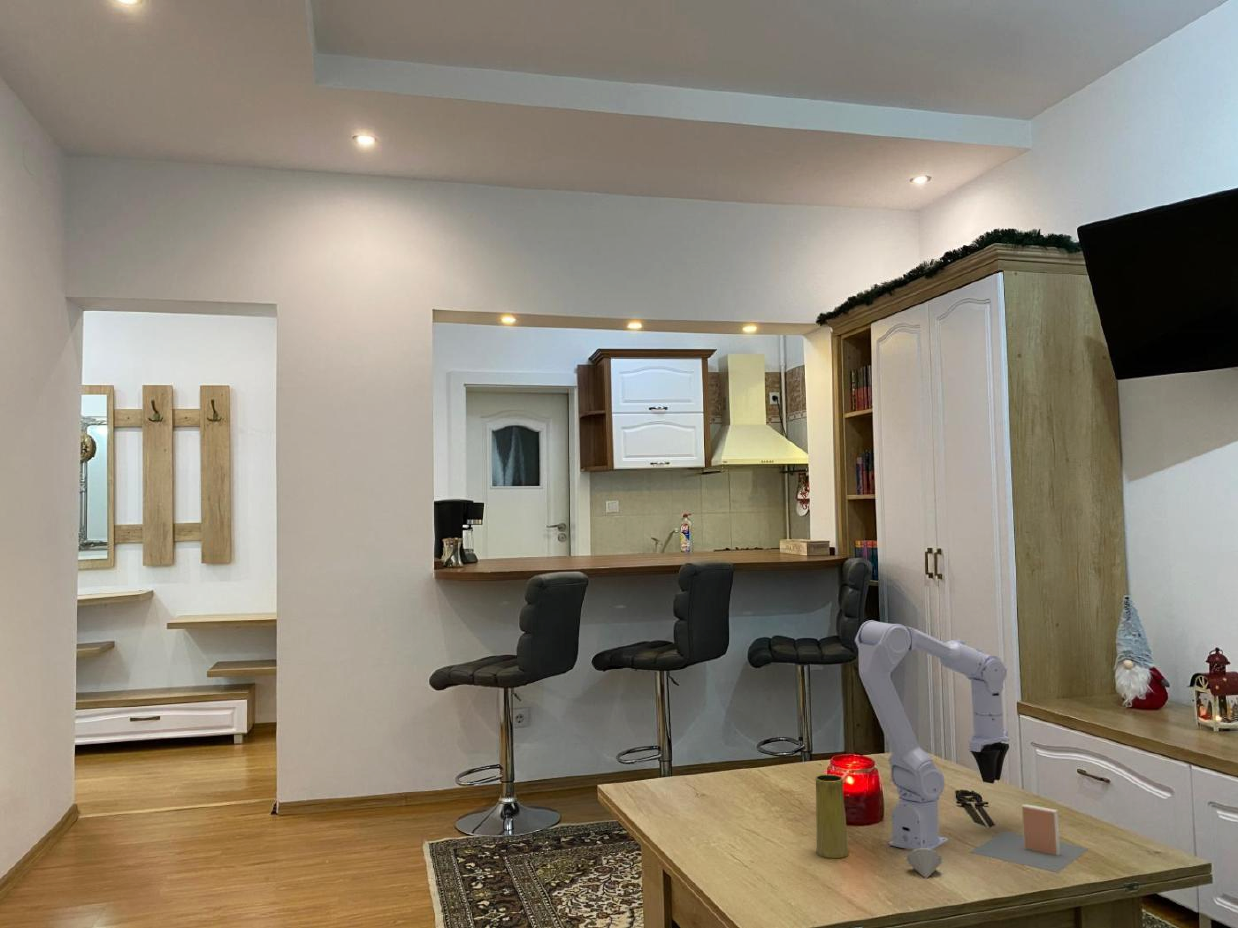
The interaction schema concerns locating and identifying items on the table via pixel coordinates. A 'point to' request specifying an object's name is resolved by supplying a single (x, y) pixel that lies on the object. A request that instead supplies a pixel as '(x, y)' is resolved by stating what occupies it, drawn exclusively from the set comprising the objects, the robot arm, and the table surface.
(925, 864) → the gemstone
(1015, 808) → the table surface
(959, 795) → the dark ornate flat tool
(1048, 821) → the tile
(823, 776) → the vase
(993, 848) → the mat
